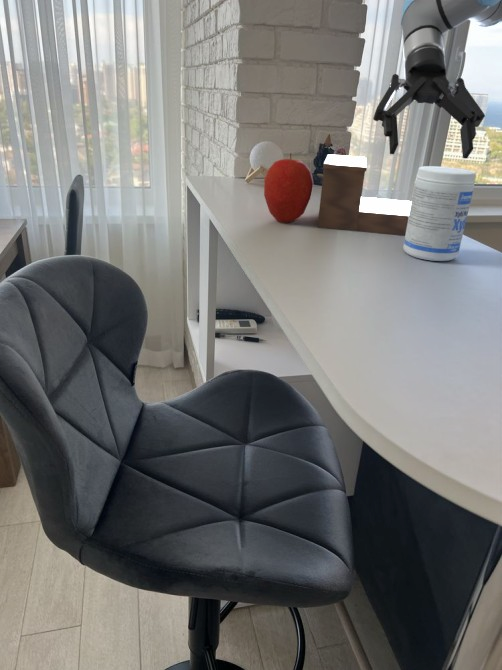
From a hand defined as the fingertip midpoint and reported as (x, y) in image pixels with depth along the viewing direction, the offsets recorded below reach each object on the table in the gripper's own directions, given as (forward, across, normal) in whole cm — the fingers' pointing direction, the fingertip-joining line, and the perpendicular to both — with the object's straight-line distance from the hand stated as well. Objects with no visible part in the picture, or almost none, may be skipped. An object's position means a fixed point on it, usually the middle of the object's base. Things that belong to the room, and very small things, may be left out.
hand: (431, 151), depth 92 cm
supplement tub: (+19, 0, -5) cm, 19 cm away
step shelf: (+3, +7, -20) cm, 21 cm away
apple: (+5, +25, -19) cm, 32 cm away
